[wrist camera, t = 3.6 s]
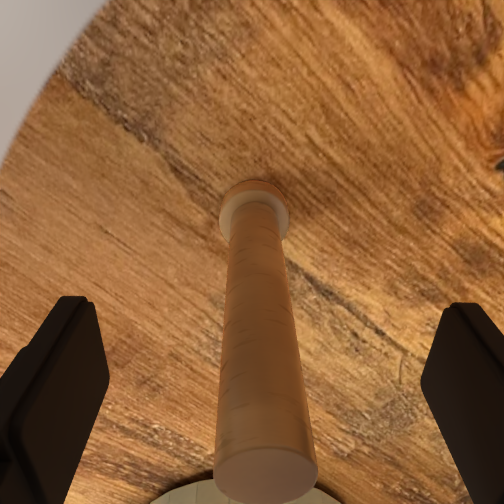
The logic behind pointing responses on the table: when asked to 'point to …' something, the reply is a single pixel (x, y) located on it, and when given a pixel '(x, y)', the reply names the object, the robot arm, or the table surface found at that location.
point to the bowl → (212, 500)
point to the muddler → (260, 359)
